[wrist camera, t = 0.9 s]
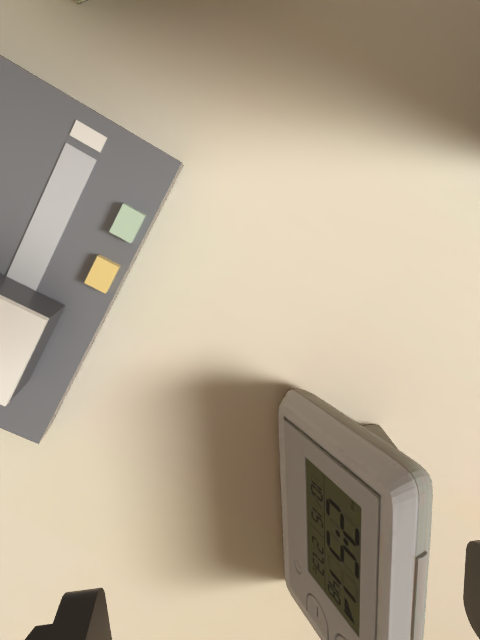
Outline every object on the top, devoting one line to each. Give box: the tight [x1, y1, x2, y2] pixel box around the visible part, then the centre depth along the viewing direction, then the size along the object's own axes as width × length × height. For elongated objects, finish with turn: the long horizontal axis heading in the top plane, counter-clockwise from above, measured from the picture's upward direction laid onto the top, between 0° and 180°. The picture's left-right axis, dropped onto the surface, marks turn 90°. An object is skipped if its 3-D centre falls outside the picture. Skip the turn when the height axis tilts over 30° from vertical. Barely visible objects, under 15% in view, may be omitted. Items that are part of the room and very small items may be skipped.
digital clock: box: [278, 389, 433, 640], centre depth 26 cm, size 16×9×11 cm, turn 172°
